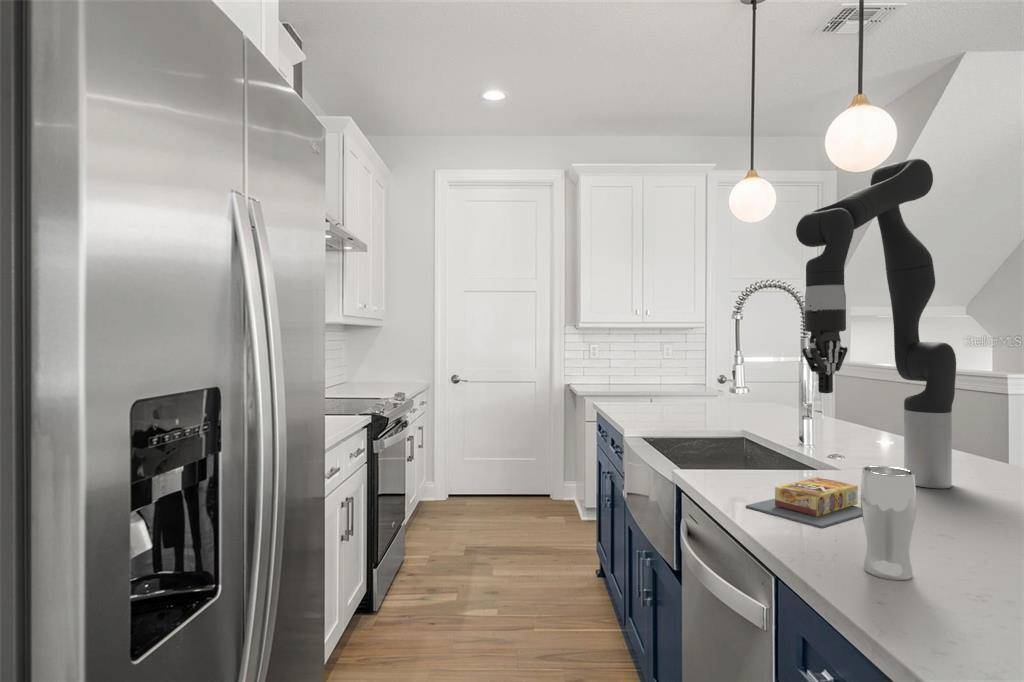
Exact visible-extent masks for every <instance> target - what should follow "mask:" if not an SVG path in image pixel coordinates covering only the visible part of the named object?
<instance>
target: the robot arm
mask: <svg viewBox="0 0 1024 682" xmlns="http://www.w3.org/2000/svg"><path fill="white" fill-rule="evenodd" d="M933 184H934V174H933V171H932V168H931V165H930V164H929V163H928V162H927V161H926V160H924V159H922V158H908V159H905V160H901V161H897V162H893V163H890V164H887V165H883V166H880V167H877V168H875V169H874V170H873V172H872V174H871V177H870V185H869V186H867V187H864V188H861V189H859V190H855V191H853V192H852V193H851V192H850V194H848V195H846V196H844V197H842V198H840V199H839V200H837V201H836V202H834V203H832V204H829V205H826V206H822V207H819V208H818V209H815V210H812V211H810V212H808V213H806V214H804V216H803V217H801V218H800V220H799V221H798V223H797V225H796V228H795V229H796V230H795V235H796V238H797V240H798V242H799V243H800V244H802V246H803V245H804V246H805V247H809V248H816V247H823V246H825V247H824V249H823V252H822V253H821V254H819V255H818V256H816V257H813V258H810V259H809V260H808V261H807V262H806V264H805V294H804V330H805V332H807V333H808V332H809V333H810V337H809V345H808V346H807V347H803V348H802V354H803V356H804V358H805V361H806V363H807V365H808V368H809V369H810V371H811V372H812V373H813V372H815V373H816V375H817V376H818V377H817V379H818V380H817V381H818V385H817V386H818V393H820V394H832V393H833V392H834V387H833V386H834V377H833V376H834V375H835V374H836V372H840V370H841V367H842V365H843V363H844V361H845V358H846V355H847V353H848V347H847V346H842V345H841V341H842V339H841V336H840V332H844V331H846V329H847V307H846V306H847V299H846V298H847V295H846V289H845V288H846V287H845V264H846V260H847V258H848V253H849V251H850V250H849V249H850V246H851V243H852V240H853V236H854V232H855V230H857V229H858V228H860V227H862V226H863V225H865V224H866V223H868V222H869V221H872V220H873V219H874V218H875V219H876V218H877V222H878V223H877V224H878V227H879V230H880V236H881V242H882V249H883V257H884V263H885V264H884V265H885V272H886V273H885V274H886V278H887V280H886V281H887V286H888V291H889V296H890V297H889V298H890V302H891V303H890V304H891V305H890V306H891V313H892V320H893V321H892V322H893V323H892V324H893V343H894V344H893V346H894V348H893V349H894V362H895V367H896V370H897V373H898V374H899V376H900V377H901V378H902V379H904V380H906V381H916V382H925V388H924V389H923V391H921V392H919V393H917V394H914V395H910V396H907V397H906V398H904V401H903V456H904V457H903V469H906V470H910V471H912V472H914V473H915V474H914V477H915V487H921V488H928V489H929V488H930V489H950V488H952V485H953V483H952V482H953V479H952V477H953V476H952V473H953V472H952V469H953V467H952V466H953V465H952V463H953V459H952V458H953V456H952V454H953V452H952V451H953V447H952V446H953V443H952V442H953V439H952V438H953V437H952V435H953V434H952V433H953V430H952V429H953V423H952V422H953V420H952V417H953V413H952V412H953V411H952V410H953V409H952V408H953V407H952V406H953V404H954V400H955V394H956V392H955V391H956V375H957V374H956V373H957V357H956V352H955V351H954V348H953V347H952V346H951V345H950V344H949V343H947V342H942V341H941V342H940V341H938V342H937V341H935V342H932V341H930V342H929V341H923V342H922V341H920V335H919V334H920V333H919V325H920V320H921V317H922V314H923V312H924V310H925V309H926V307H927V305H928V303H929V301H930V299H931V297H932V295H933V293H934V291H935V287H936V274H935V267H934V261H933V256H932V255H931V253H930V251H929V250H928V249H927V247H926V246H925V245H924V243H922V242H921V241H920V240H919V238H917V236H915V234H913V233H912V231H911V230H910V229H909V228H908V226H907V225H906V223H905V222H904V219H903V216H902V213H901V208H900V205H902V204H904V203H907V202H913V201H916V200H919V199H921V198H923V197H925V196H926V195H928V193H930V191H931V189H932V187H933Z"/></svg>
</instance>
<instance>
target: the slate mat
mask: <svg viewBox="0 0 1024 682" xmlns="http://www.w3.org/2000/svg"><path fill="white" fill-rule="evenodd" d="M745 508H748V509H750V510H755V511H758V512H762V513H766V514H769V515H773V516H777V517H779V518H784V519H787V520H792V521H795V522H799V523H802V524H806V525H809V526H813V527H818V528H821V529H822V528H823V529H824V528H826V527H829V526H834V525H836V524H837V525H838V524H841V523H843V522H846V521H850V520H853V519H857V518H859V517H863V516H862V510H861V506H857V505H853V506H850V507H846V508H843V509H840V510H837V511H834V512H830V513H827V514H824V515H821V516H818V517H816V516H812V515H808V514H804V513H801V512H797V511H793V510H789V509H785V508H781V507H777V506H775V498H771V499H767V500H762V501H760V502H759V501H758V502H755V503H750V504H746V505H745Z"/></svg>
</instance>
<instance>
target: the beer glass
mask: <svg viewBox="0 0 1024 682" xmlns="http://www.w3.org/2000/svg"><path fill="white" fill-rule="evenodd" d="M914 474H915V473H914V472H912V471H910V470H906V469H904V468H900V467H894V466H884V465H868V466H863V467H862V468H861V480H860V481H861V482H860V507H861V510H862V516H861V517H862V522H863V526H864V531H865V536H866V554H865V559H864V563H863V569H864V571H865V572H866V573H868V574H869V575H872V576H874V577H876V578H881V579H885V580H891V581H909V580H911V579H912V578H913V569H912V565H911V564H912V563H911V557H910V547H911V546H910V545H911V540H912V534H913V530H914V527H915V522H916V521H915V520H916V516H917V515H916V513H917V490H916V487H917V486H915V477H914Z"/></svg>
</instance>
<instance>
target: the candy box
mask: <svg viewBox="0 0 1024 682" xmlns="http://www.w3.org/2000/svg"><path fill="white" fill-rule="evenodd" d="M858 493H859V487H858V484H854V483H848V482H843V481H839V480H833V479H829V478H823V477H819V476H816V477H811V478H807V479H803V480H799V481H795V482H791V483H787V484H783V485H779V486H775V487H774V499H775V506H777V507H781V508H785V509H789V510H793V511H797V512H801V513H804V514H808V515H812V516H816V517H818V516H821V515H824V514H827V513H830V512H834V511H837V510H840V509H843V508H846V507H850V506H857V505H858V503H859V502H858V500H859V499H858V498H859V497H858V495H859V494H858Z"/></svg>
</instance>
